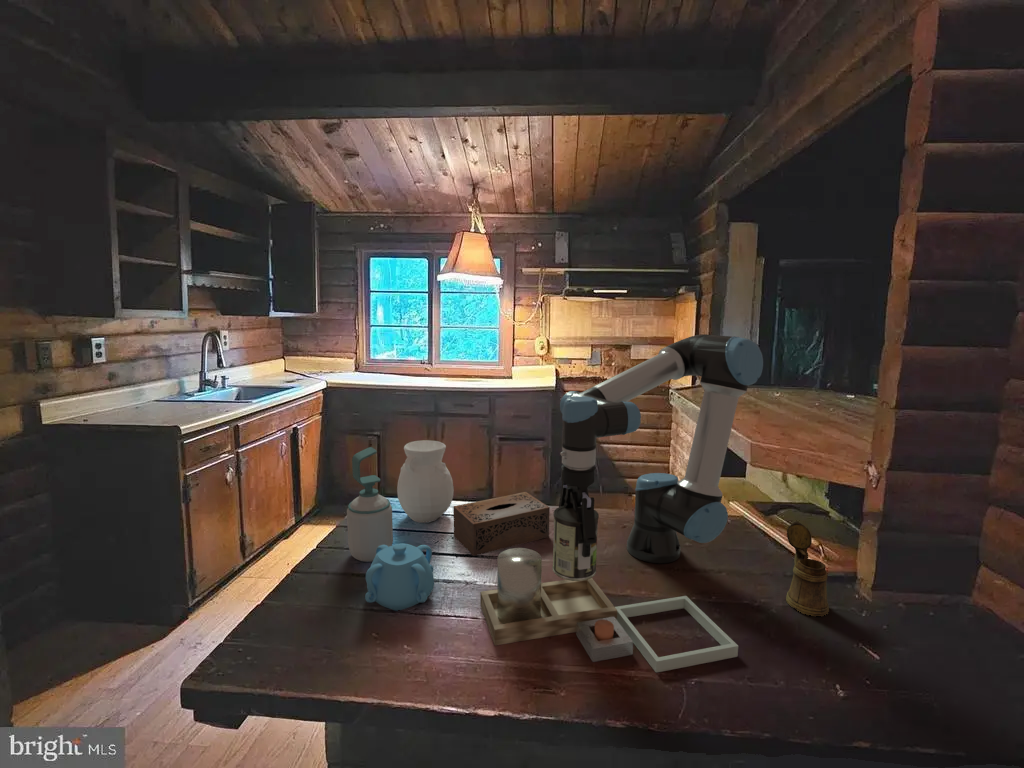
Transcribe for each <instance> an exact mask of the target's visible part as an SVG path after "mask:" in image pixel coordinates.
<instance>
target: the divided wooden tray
mask: <svg viewBox="0 0 1024 768" xmlns="http://www.w3.org/2000/svg"><path fill="white" fill-rule="evenodd" d="M479 595H480V599H479V600H480V605H479V606H480V608H481V610H482V614H483V617H484V620H485V622H486V625H487V628H488V631H489V633H490V636H491V639H492V641H493V644H494V646H500V645H506V644H511V643H518V642H523V641H529V640H534V639H536V640H537V639H542V638H547V637H548V638H549V637H553V636H561V635H566V634H571V633H576V624H577V622H583V621H589V620H595V619H601V618H608V617H615V618H616V620H617V609H616V608H615V607H616V606H614V604H613V603H612V601H611V600H610V599H609V598H608V597H607V595H606V594H605V593H604V591H603V590H602V589H601V588H600V586H599V585H598V584H597V582H596V581H595V580H594V579H593V577H592V578H591V579H588V580H585V581H570V580H565V579H562V580H561V579H560V580H556V581H555V580H554V581H547V582H541V617H540V618H538V619H532V620H525V621H519V622H513V623H506V624H503V623H501V622H500V621H499V619H498V617H497V588H496V589H490V590H484V591H480V594H479Z"/></svg>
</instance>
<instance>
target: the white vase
mask: <svg viewBox="0 0 1024 768" xmlns="http://www.w3.org/2000/svg"><path fill="white" fill-rule="evenodd" d="M446 448H447V445H446V444H445V443H444V442H441V441H438V440H431V439H427V440H426V439H425V440H422V439H421V440H415V441H414V440H413V441H410V442H408V443H407V442H406V444H404V446H403V450H404V454H405V456H406V458H405V461H404V463H403V464H402V466H401V467H400V473H399V476H398V480H397V488H396V491H397V492H396V493H397V499H398V502H399V505H400V507H401V509H402V510H403V511H404V513H405V514H406V515H407V516H408V517H409V519H411V520H412V521H413V522H415V523H420V524H421V523H432V522H434V521H437V520H438V519H439V518H440V517H441V516H442V515H444V514H445V513H446V512H447V510H448V509H449V508H450V507H451V505H452V502H453V501H452V500H453V499H454V492H455V491H454V488H455V487H454V481H453V478H452V475H451V473H450V470H449V469H448V467H447V466H446V465H447V464H446V462H442V461H443V457H444V454H445V453H446Z"/></svg>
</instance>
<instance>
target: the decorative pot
mask: <svg viewBox="0 0 1024 768" xmlns="http://www.w3.org/2000/svg"><path fill="white" fill-rule="evenodd" d="M424 550H426V551H425V552H426V554H424V552H423V551H424ZM432 556H433V551H432V548H431V546H429V545H427V544H420V545H418V546H415V545H412V544H410V543H409V544H408V543H403V542H402V543H396V544H392V546H389V547H388V546H387V545H380V546H379V547H378V548H377V549H376V556H375V558H374V560H373V561H372V562H371V564H370V567H369V568H368V569H367V571H366V573H365V581H366V587H367V592H366V593H365V596H364V599H365V601H366V602H367V603H375V602H376V603H377V604H379V605H380V606H382V607H384V608H386V609H389V610H392V611H395V612H399V611H398V610H400V611H402V610H406V609H410V608H411V607H414V606H415V605H418V604H419V603H425V602H426V601H427V600H428V597H430V595H431V593H432V591H433V590H434V589H435V588H434V587H435V579H434V573H433V572H434V566H433V565H432V564H431V560H432Z"/></svg>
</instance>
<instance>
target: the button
mask: <svg viewBox="0 0 1024 768" xmlns="http://www.w3.org/2000/svg"><path fill="white" fill-rule="evenodd" d="M613 635H614V625H613V624H612V623H611V622H610V621H607V620H598V621H597V622H596V623H595V635H594V636H595V637H596V639H597V640H598V641H602V640H608V639H613Z"/></svg>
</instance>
